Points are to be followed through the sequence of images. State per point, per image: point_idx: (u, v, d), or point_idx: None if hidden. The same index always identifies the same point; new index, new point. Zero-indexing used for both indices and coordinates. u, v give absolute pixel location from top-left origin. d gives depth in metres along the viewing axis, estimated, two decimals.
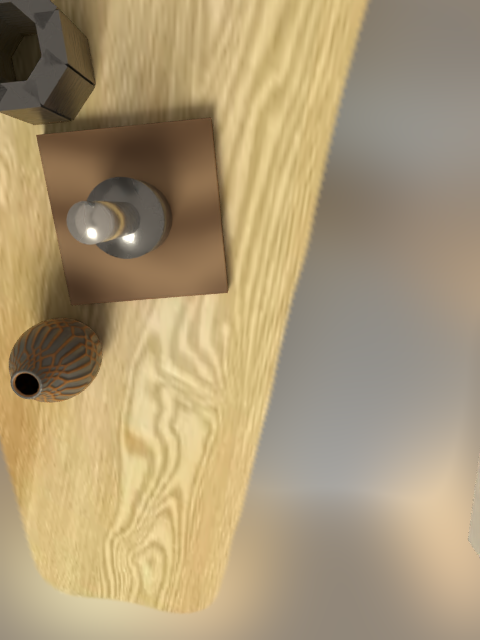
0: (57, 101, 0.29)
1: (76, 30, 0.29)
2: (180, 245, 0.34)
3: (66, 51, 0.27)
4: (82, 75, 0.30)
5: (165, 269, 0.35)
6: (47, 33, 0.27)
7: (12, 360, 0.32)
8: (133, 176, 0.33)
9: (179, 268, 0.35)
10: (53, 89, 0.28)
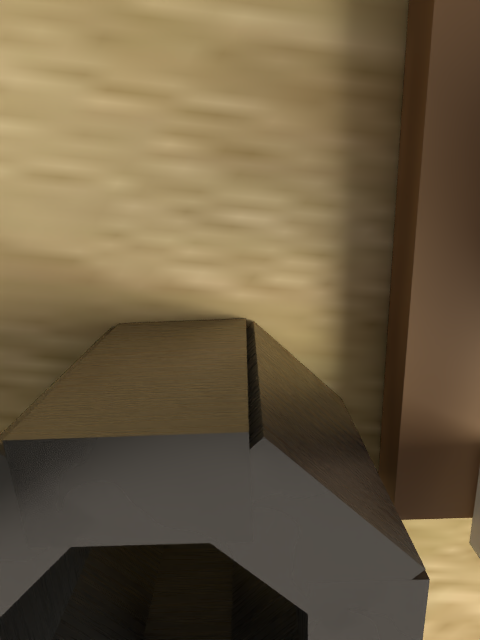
0: (363, 477, 0.07)
1: (93, 357, 0.08)
2: None
3: (189, 427, 0.05)
4: (246, 358, 0.08)
5: None
6: (111, 504, 0.05)
7: None
8: None
9: None
10: (359, 513, 0.05)
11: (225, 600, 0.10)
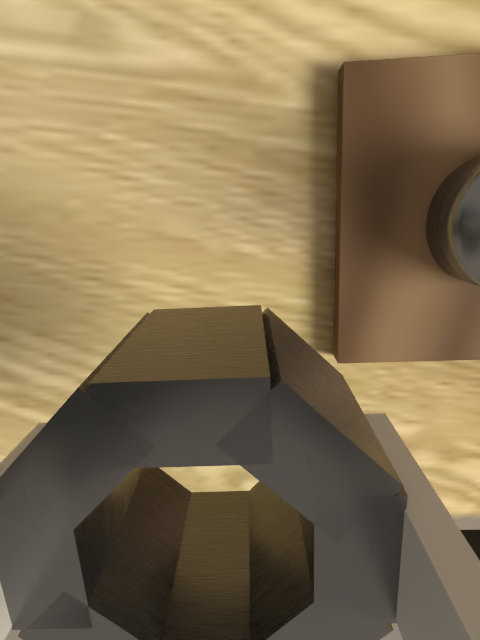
0: (358, 424, 0.09)
1: (139, 333, 0.10)
2: None
3: (225, 374, 0.07)
4: None
5: None
6: (166, 433, 0.07)
7: None
8: (421, 217, 0.19)
9: None
10: (352, 441, 0.07)
11: (244, 543, 0.11)
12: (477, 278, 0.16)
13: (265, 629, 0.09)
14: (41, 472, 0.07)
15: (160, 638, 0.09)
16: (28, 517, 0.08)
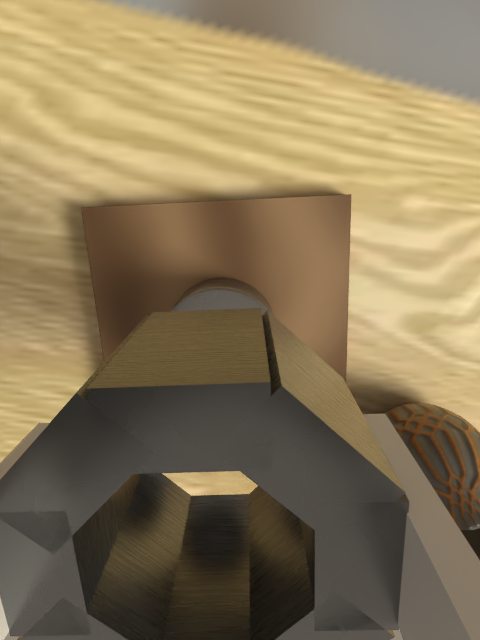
0: (359, 429, 0.08)
1: (139, 336, 0.09)
2: (267, 268, 0.22)
3: (225, 379, 0.07)
4: None
5: (303, 294, 0.22)
6: (165, 439, 0.07)
7: None
8: None
9: (303, 272, 0.22)
10: (354, 447, 0.07)
11: (243, 547, 0.11)
12: None
13: (265, 635, 0.09)
14: (39, 478, 0.07)
15: None
16: (25, 524, 0.08)
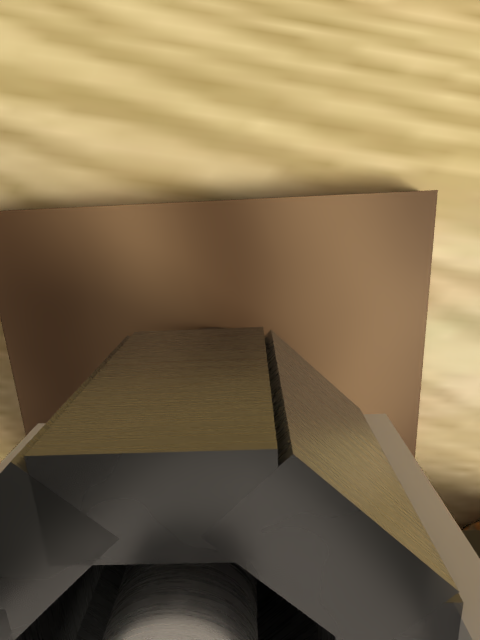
0: (390, 492, 0.07)
1: (111, 367, 0.08)
2: (290, 312, 0.13)
3: (215, 442, 0.05)
4: None
5: (348, 355, 0.14)
6: (134, 522, 0.05)
7: None
8: None
9: (350, 320, 0.13)
10: (391, 533, 0.05)
11: None
12: None
13: None
14: None
15: None
16: None
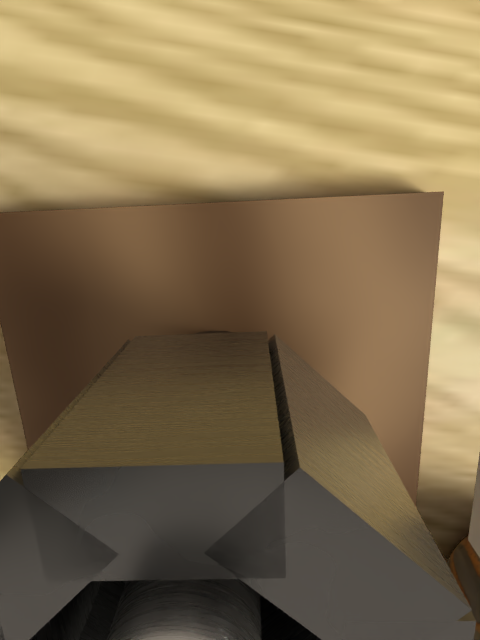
0: (398, 504, 0.06)
1: (111, 373, 0.07)
2: (293, 315, 0.13)
3: (218, 455, 0.05)
4: None
5: (352, 359, 0.13)
6: (134, 537, 0.05)
7: None
8: None
9: (354, 323, 0.13)
10: (401, 549, 0.05)
11: None
12: None
13: None
14: None
15: None
16: None
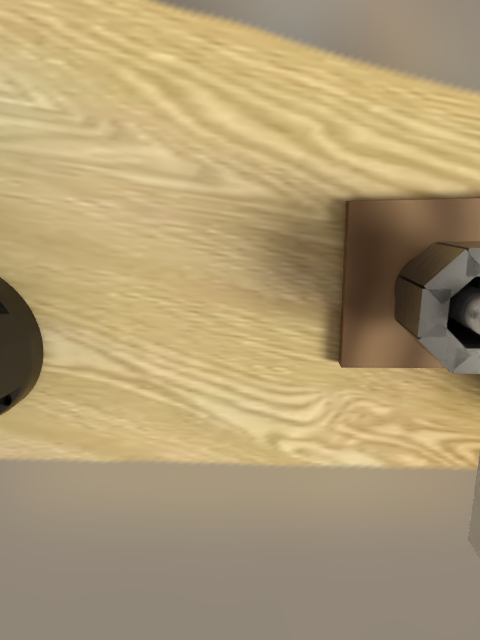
0: None
1: (451, 244, 0.27)
2: None
3: None
4: None
5: None
6: None
7: None
8: (391, 285, 0.33)
9: None
10: None
11: (473, 335, 0.28)
12: None
13: None
14: (446, 277, 0.24)
15: None
16: (436, 293, 0.25)
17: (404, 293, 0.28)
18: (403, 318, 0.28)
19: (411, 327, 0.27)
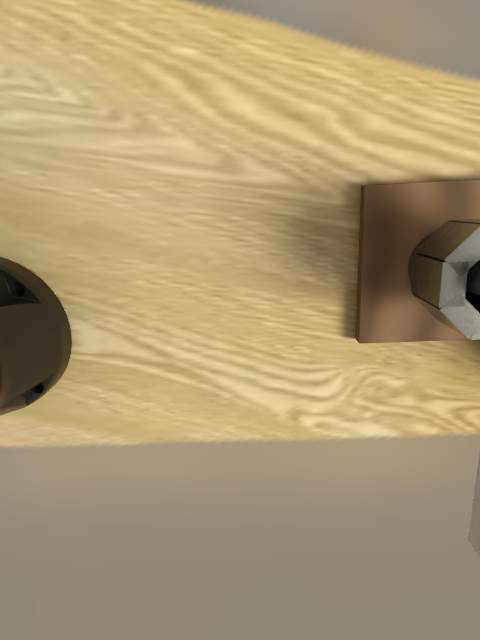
0: None
1: (465, 221, 0.29)
2: None
3: None
4: None
5: None
6: None
7: None
8: (405, 263, 0.35)
9: None
10: None
11: None
12: None
13: None
14: (464, 250, 0.27)
15: None
16: (455, 266, 0.27)
17: (422, 269, 0.30)
18: (422, 292, 0.31)
19: (431, 299, 0.29)
